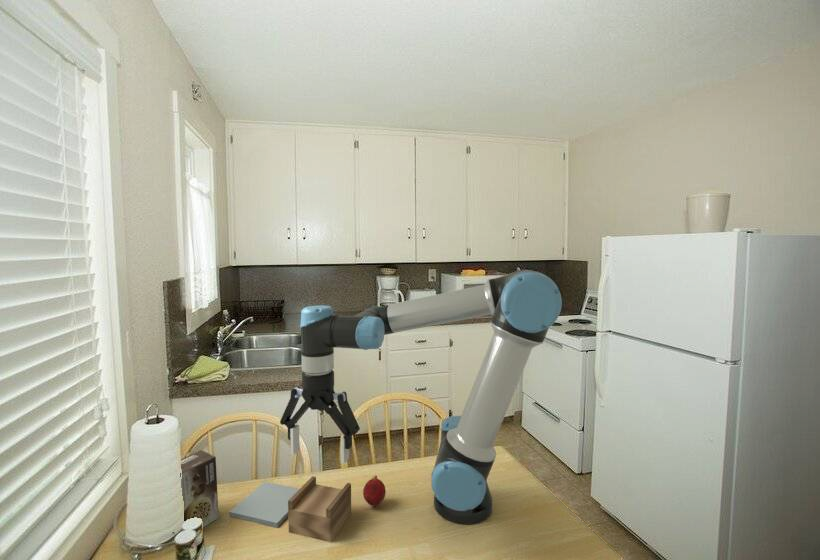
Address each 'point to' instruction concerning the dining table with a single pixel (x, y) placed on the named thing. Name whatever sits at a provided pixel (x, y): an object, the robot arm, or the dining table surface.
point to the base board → (265, 504)
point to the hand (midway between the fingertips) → (319, 456)
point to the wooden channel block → (319, 510)
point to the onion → (374, 491)
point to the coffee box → (199, 487)
